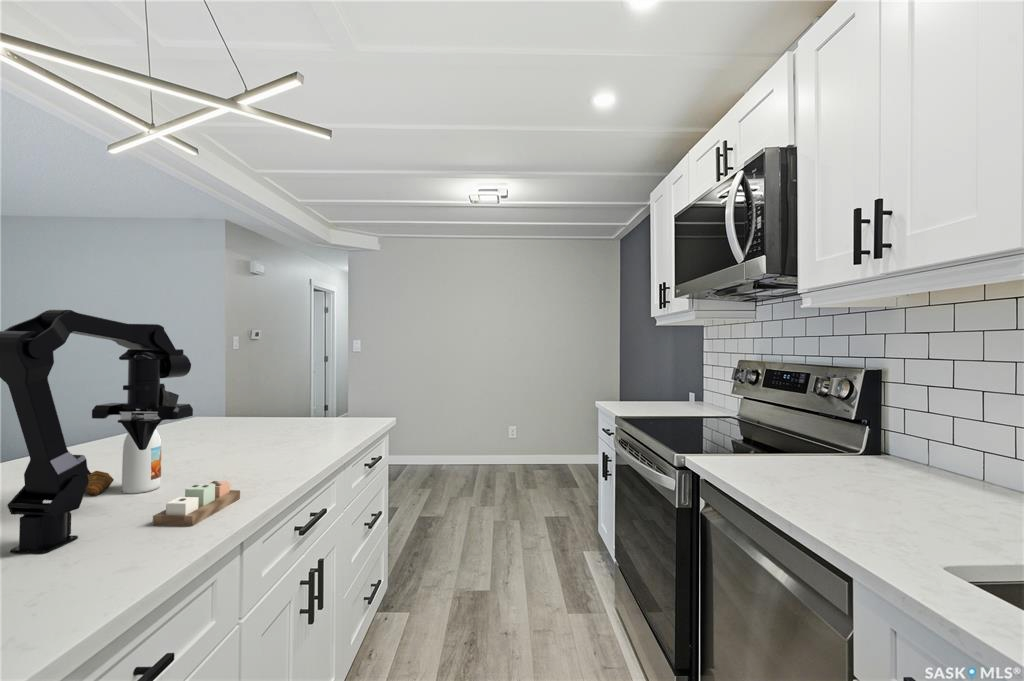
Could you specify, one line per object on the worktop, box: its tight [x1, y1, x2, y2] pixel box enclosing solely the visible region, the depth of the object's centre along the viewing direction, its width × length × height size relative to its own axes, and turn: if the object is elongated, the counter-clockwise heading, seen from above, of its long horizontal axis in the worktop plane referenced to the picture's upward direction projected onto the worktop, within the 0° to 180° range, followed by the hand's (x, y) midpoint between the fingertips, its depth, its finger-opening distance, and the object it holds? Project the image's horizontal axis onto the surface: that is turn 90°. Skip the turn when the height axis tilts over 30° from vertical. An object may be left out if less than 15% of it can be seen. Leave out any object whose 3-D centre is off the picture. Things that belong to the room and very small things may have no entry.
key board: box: [152, 489, 241, 527], centre depth 105 cm, size 17×8×2 cm, turn 0°
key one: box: [165, 496, 198, 515], centre depth 99 cm, size 4×4×4 cm
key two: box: [184, 483, 215, 506], centre depth 105 cm, size 4×4×4 cm
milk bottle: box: [121, 415, 162, 494], centre depth 119 cm, size 8×8×20 cm
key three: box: [208, 480, 231, 497], centre depth 110 cm, size 4×4×4 cm
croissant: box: [84, 470, 114, 497], centre depth 118 cm, size 14×7×5 cm, turn 37°
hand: (142, 449), depth 106 cm, fingers closed
